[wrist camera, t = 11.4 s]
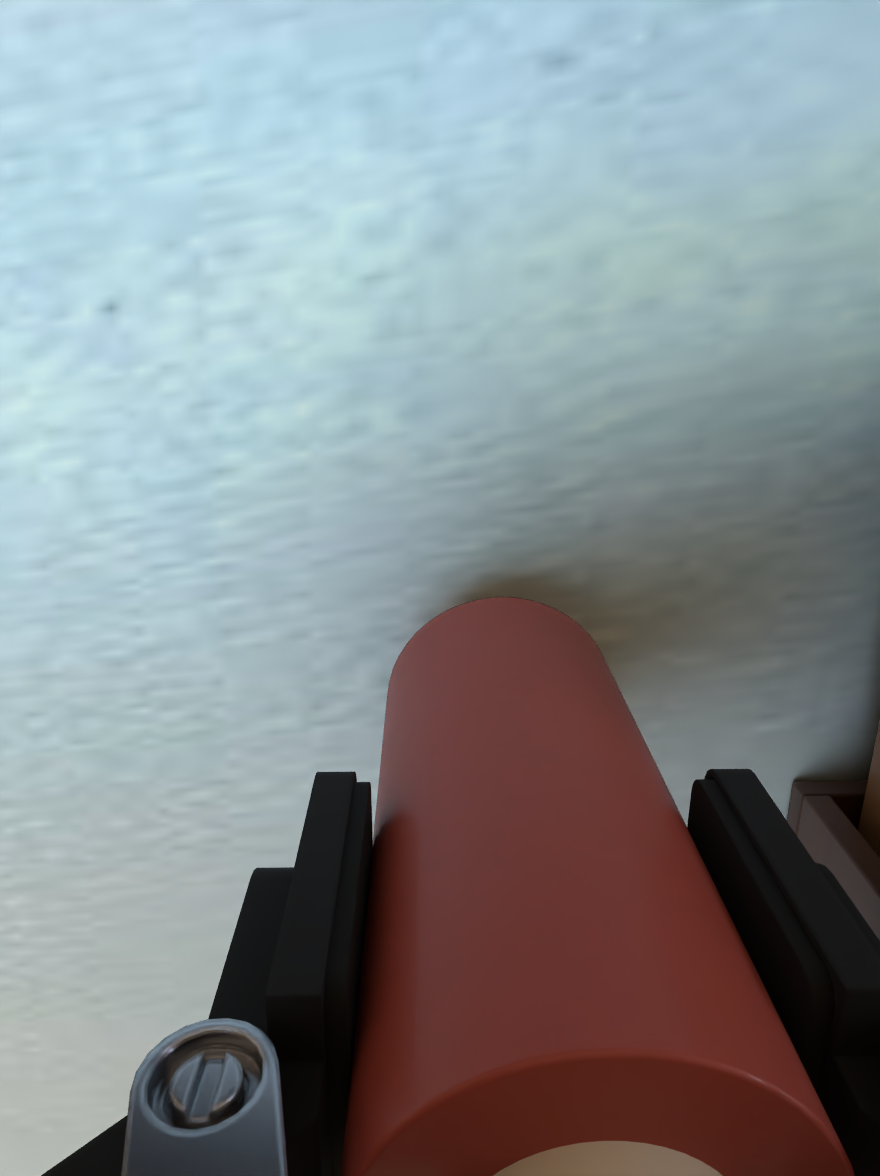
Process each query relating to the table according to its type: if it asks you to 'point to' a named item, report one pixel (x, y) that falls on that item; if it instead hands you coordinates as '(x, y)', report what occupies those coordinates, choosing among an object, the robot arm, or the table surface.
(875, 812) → the drawer
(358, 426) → the table surface
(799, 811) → the cabinet
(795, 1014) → the robot arm
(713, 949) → the skittle
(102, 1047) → the table surface
